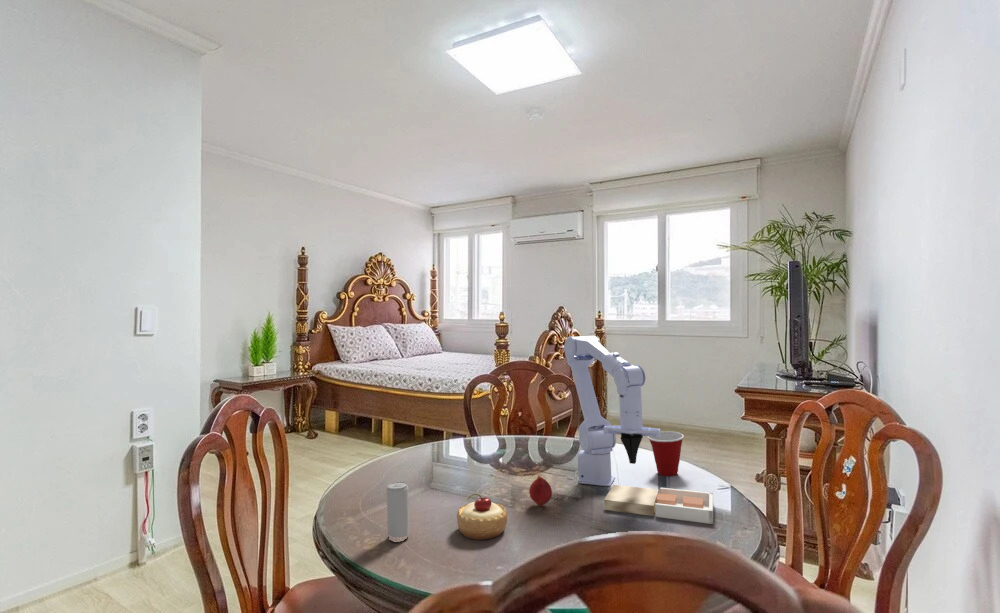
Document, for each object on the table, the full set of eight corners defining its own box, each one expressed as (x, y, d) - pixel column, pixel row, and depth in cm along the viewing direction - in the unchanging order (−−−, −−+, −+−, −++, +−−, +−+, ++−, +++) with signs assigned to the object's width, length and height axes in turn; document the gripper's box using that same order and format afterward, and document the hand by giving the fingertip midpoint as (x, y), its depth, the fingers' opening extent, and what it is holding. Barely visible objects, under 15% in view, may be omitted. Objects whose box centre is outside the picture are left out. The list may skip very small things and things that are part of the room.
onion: (554, 503, 128) (553, 472, 128) (549, 511, 123) (548, 479, 123) (533, 501, 130) (532, 471, 130) (527, 509, 125) (526, 477, 125)
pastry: (512, 541, 108) (512, 501, 108) (460, 546, 105) (460, 505, 105) (501, 518, 120) (501, 482, 120) (453, 522, 117) (453, 486, 117)
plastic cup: (641, 471, 153) (639, 432, 153) (669, 466, 157) (667, 429, 157) (664, 481, 143) (662, 440, 143) (693, 476, 147) (691, 436, 147)
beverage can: (389, 534, 112) (388, 482, 112) (410, 533, 112) (409, 481, 113) (386, 544, 107) (385, 489, 107) (408, 542, 107) (407, 488, 108)
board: (604, 509, 123) (604, 499, 123) (613, 493, 134) (613, 484, 134) (654, 516, 118) (653, 505, 118) (659, 499, 129) (658, 489, 129)
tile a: (656, 509, 121) (656, 499, 121) (658, 502, 125) (658, 493, 125) (675, 511, 119) (675, 501, 119) (677, 505, 123) (676, 495, 124)
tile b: (683, 512, 118) (682, 502, 118) (684, 506, 123) (683, 496, 123) (703, 515, 117) (702, 504, 117) (703, 508, 121) (703, 498, 121)
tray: (655, 516, 117) (655, 504, 117) (660, 498, 129) (660, 487, 129) (713, 524, 112) (712, 511, 112) (713, 504, 124) (712, 492, 124)
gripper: (600, 412, 129) (602, 464, 128) (657, 415, 123) (659, 469, 122) (605, 408, 135) (607, 457, 135) (660, 410, 129) (662, 461, 129)
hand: (632, 462), depth 129 cm, fingers closed
